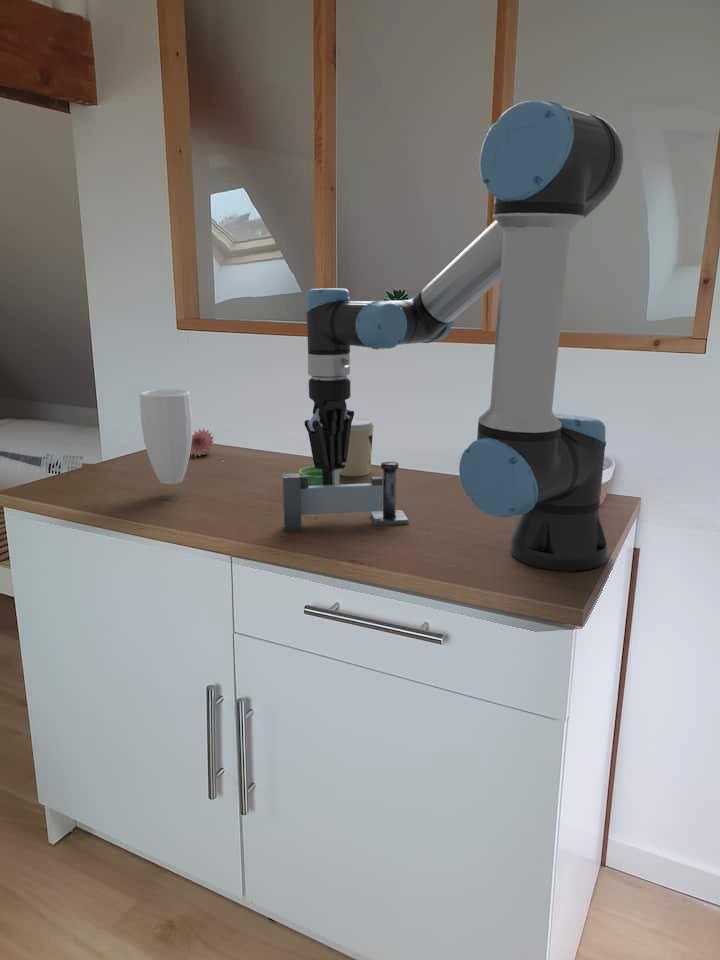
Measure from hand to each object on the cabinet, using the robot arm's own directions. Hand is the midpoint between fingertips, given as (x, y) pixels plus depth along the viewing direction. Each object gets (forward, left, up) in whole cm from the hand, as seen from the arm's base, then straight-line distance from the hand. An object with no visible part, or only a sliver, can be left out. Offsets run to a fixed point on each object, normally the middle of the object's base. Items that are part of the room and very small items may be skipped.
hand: (331, 502), depth 139 cm
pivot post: (-3, -11, -3) cm, 11 cm away
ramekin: (+19, +1, -3) cm, 20 cm away
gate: (-3, -1, -1) cm, 3 cm away
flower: (+56, +28, -3) cm, 63 cm away
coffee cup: (+33, -9, -3) cm, 34 cm away
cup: (+20, +31, -3) cm, 38 cm away
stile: (-5, +8, -3) cm, 10 cm away
